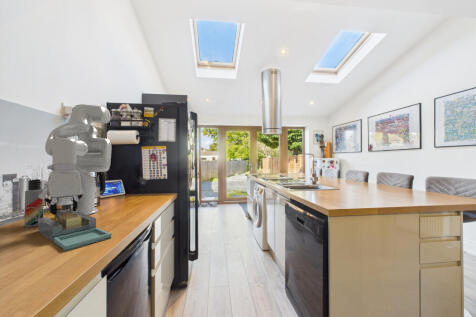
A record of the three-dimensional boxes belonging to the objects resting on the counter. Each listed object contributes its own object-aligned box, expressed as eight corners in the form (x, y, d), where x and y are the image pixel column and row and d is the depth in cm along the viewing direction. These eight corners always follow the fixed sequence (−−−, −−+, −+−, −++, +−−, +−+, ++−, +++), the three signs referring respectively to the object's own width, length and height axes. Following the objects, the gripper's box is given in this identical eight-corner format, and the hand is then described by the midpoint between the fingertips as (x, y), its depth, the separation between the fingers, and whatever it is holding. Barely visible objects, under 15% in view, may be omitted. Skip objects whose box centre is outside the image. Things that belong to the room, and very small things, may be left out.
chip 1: (58, 224, 78) (59, 215, 78) (73, 221, 82) (73, 213, 82) (62, 226, 76) (62, 217, 76) (76, 223, 79) (76, 214, 79)
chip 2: (62, 226, 76) (62, 217, 76) (77, 223, 79) (77, 214, 79) (66, 228, 73) (66, 218, 73) (81, 225, 77) (81, 216, 77)
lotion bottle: (30, 227, 83) (31, 179, 84) (20, 226, 85) (21, 179, 85) (46, 223, 89) (47, 178, 89) (36, 222, 90) (37, 178, 90)
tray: (53, 242, 68) (53, 237, 68) (97, 231, 79) (97, 227, 79) (65, 251, 61) (65, 246, 61) (111, 237, 72) (111, 233, 72)
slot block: (37, 231, 79) (38, 218, 79) (77, 222, 90) (78, 211, 90) (52, 241, 69) (52, 227, 69) (95, 230, 79) (96, 218, 79)
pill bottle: (53, 223, 77) (53, 198, 78) (55, 220, 82) (55, 196, 82) (72, 221, 81) (72, 196, 81) (73, 218, 85) (73, 194, 86)
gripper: (37, 169, 73) (37, 219, 72) (92, 168, 87) (92, 209, 87) (32, 168, 77) (32, 215, 77) (86, 167, 91) (85, 207, 91)
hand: (64, 212), depth 82 cm, fingers closed on pill bottle, 5 cm apart
